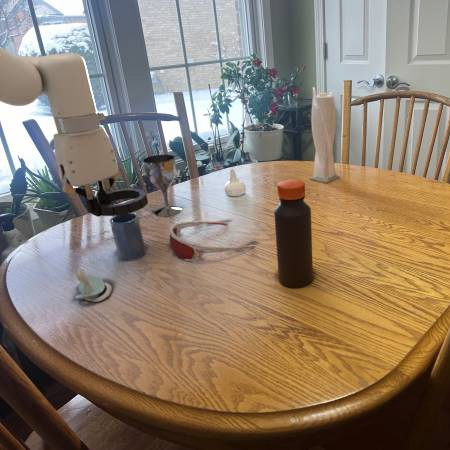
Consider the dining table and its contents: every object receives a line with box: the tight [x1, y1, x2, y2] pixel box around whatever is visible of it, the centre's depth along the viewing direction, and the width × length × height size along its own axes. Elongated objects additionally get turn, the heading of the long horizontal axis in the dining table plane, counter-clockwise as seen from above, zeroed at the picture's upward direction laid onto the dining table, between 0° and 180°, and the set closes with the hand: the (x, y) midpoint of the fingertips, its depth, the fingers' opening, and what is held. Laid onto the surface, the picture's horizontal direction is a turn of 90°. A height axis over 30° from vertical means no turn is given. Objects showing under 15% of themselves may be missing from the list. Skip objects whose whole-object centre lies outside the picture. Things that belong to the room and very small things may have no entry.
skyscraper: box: [309, 86, 341, 184], centre depth 135 cm, size 8×8×28 cm
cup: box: [109, 212, 147, 262], centre depth 97 cm, size 6×6×9 cm
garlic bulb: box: [224, 167, 247, 197], centre depth 129 cm, size 6×6×8 cm
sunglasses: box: [168, 220, 256, 262], centre depth 101 cm, size 17×17×5 cm
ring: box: [95, 187, 149, 217], centre depth 93 cm, size 11×11×2 cm
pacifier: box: [75, 266, 113, 303], centre depth 83 cm, size 7×6×6 cm
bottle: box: [273, 178, 314, 289], centre depth 82 cm, size 7×7×20 cm
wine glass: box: [142, 154, 182, 218], centre depth 117 cm, size 8×8×15 cm
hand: (101, 212), depth 90 cm, fingers closed on ring, 1 cm apart
